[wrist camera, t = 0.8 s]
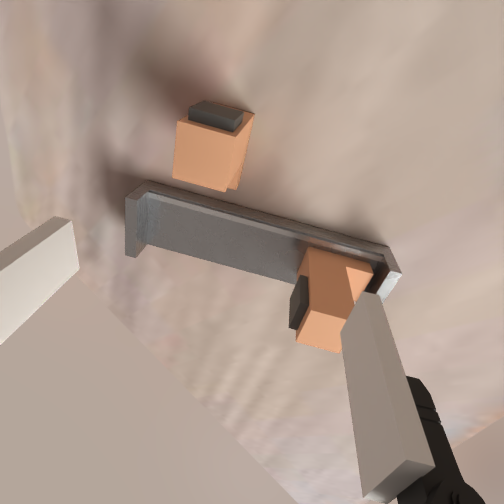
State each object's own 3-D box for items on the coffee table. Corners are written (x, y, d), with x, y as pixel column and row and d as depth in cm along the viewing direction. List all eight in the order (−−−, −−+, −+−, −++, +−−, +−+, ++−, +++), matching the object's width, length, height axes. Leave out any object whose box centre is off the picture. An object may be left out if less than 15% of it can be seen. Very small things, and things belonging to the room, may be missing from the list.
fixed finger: (301, 244, 33) (301, 307, 24) (369, 263, 33) (393, 332, 25) (290, 272, 35) (287, 339, 27) (354, 290, 35) (371, 362, 27)
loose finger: (202, 173, 32) (168, 213, 24) (214, 93, 28) (178, 107, 19) (239, 183, 32) (217, 227, 24) (256, 105, 28) (238, 124, 20)
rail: (147, 180, 33) (125, 197, 29) (389, 247, 34) (402, 274, 30) (144, 233, 37) (125, 255, 33) (362, 293, 38) (370, 322, 33)
